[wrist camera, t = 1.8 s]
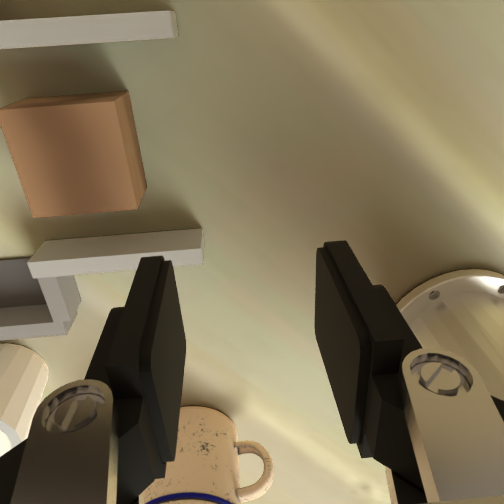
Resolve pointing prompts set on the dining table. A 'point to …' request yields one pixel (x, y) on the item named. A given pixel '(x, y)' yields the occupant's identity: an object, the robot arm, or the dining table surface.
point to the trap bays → (35, 302)
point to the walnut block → (76, 153)
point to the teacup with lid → (208, 463)
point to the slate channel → (115, 246)
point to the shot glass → (19, 392)
